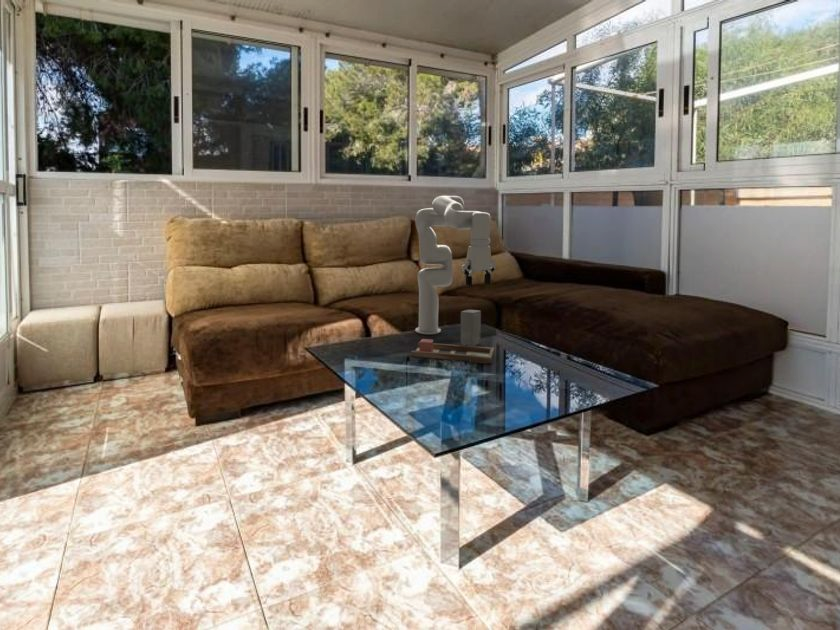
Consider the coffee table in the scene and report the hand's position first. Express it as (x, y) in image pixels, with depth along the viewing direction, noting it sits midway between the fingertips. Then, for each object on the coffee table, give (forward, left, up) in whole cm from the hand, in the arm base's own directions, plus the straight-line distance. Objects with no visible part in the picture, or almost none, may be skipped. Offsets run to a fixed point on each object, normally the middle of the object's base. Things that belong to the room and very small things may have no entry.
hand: (478, 284), depth 230 cm
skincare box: (-17, -4, -31) cm, 35 cm away
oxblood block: (+2, -21, -30) cm, 37 cm away
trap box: (+2, -10, -31) cm, 32 cm away
